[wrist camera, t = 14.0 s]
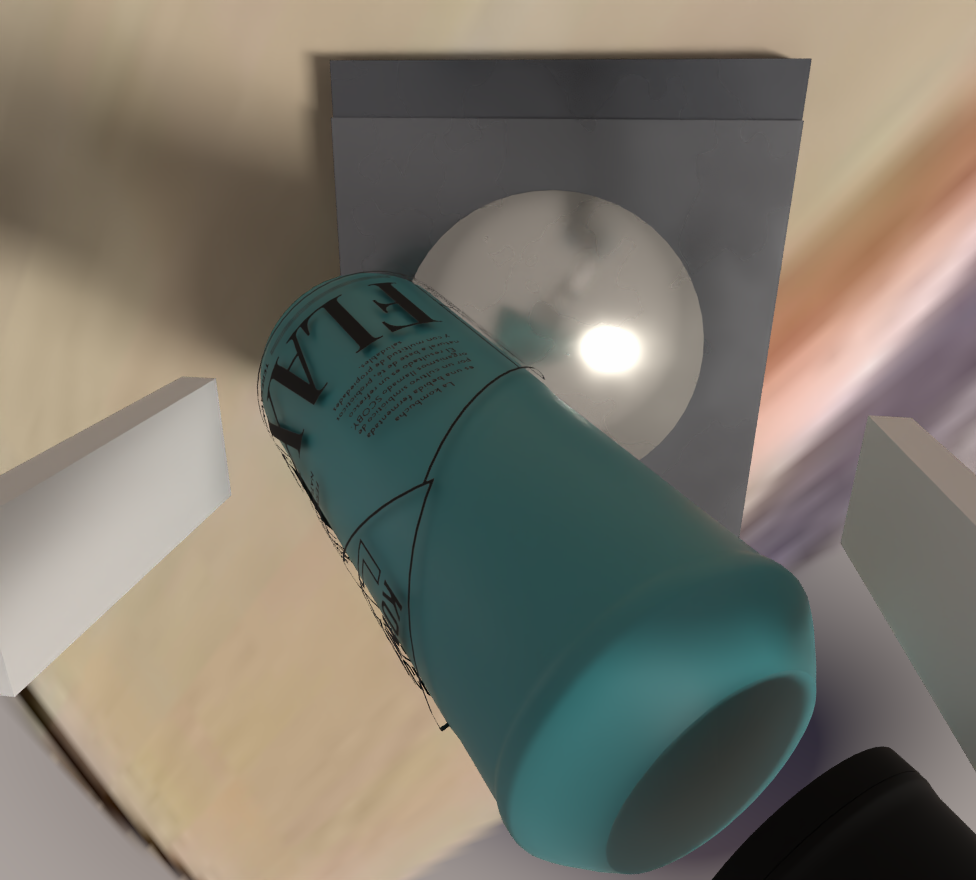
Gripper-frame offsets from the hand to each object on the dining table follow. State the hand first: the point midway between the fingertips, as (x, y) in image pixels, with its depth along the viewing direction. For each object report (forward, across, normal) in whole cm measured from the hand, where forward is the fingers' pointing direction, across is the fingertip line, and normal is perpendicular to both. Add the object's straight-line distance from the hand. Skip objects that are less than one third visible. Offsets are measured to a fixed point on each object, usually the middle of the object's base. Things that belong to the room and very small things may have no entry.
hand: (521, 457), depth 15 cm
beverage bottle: (+8, -7, 0) cm, 10 cm away
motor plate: (+11, 0, 0) cm, 11 cm away
